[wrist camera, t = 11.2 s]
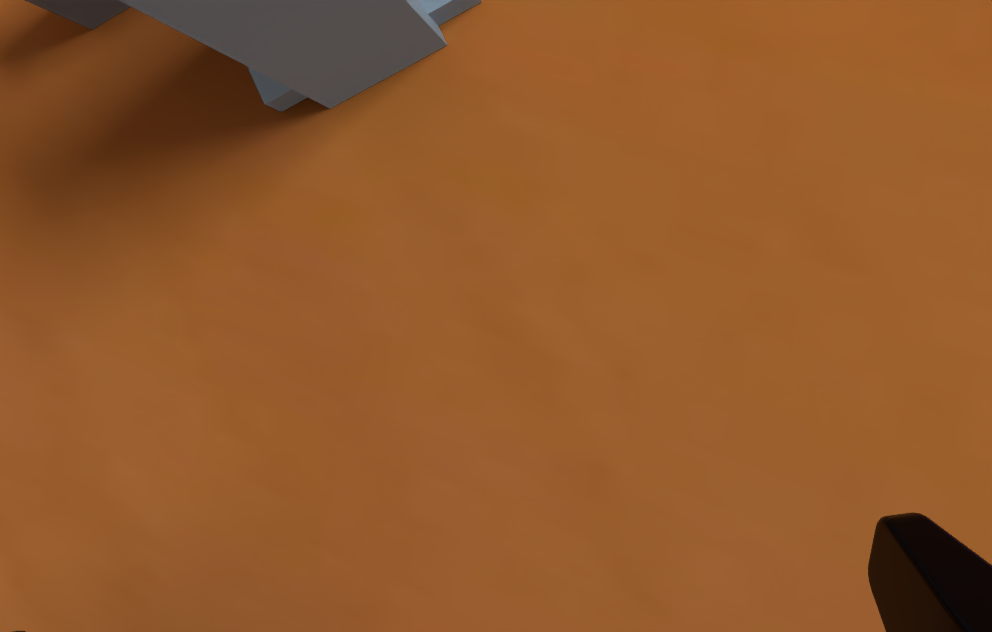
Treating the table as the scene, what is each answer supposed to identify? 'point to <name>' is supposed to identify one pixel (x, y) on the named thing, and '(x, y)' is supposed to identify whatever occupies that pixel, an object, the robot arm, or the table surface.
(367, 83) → the scraper
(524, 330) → the table surface
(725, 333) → the table surface
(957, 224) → the table surface
